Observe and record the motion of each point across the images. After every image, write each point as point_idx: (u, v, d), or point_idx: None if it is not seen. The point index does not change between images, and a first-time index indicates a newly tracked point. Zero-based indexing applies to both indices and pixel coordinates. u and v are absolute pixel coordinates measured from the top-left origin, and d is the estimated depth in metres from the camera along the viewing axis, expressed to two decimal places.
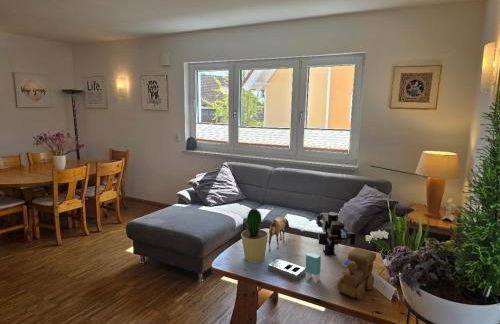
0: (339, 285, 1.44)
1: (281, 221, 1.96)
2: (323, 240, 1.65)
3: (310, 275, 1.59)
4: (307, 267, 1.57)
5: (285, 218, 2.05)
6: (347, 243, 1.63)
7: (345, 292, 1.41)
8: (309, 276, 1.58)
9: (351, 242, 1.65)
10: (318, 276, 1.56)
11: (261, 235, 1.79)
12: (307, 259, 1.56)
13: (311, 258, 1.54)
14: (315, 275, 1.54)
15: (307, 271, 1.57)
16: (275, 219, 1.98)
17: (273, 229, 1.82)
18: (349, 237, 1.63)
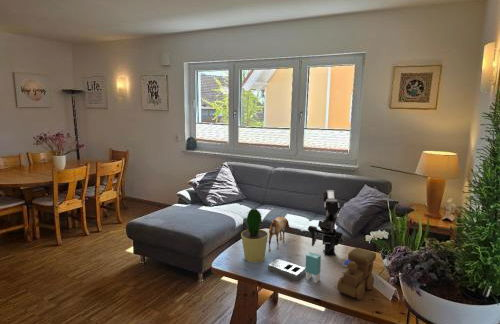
0: (339, 285, 1.44)
1: (281, 221, 1.96)
2: (312, 234, 1.70)
3: (310, 275, 1.59)
4: (307, 267, 1.57)
5: (285, 218, 2.05)
6: None
7: (345, 292, 1.41)
8: (309, 276, 1.58)
9: (338, 241, 1.61)
10: (318, 276, 1.56)
11: (261, 235, 1.79)
12: (307, 259, 1.56)
13: (311, 258, 1.54)
14: (315, 275, 1.54)
15: (307, 271, 1.57)
16: (275, 219, 1.98)
17: (273, 229, 1.82)
18: (333, 239, 1.60)
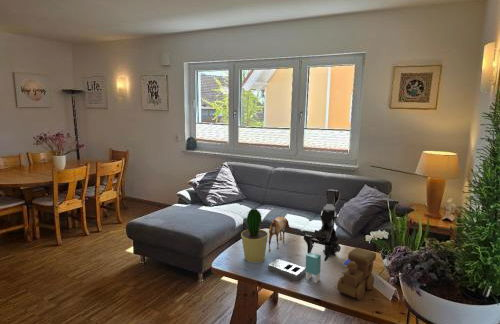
0: (339, 285, 1.44)
1: (281, 221, 1.96)
2: None
3: (310, 275, 1.59)
4: (307, 267, 1.57)
5: (285, 218, 2.05)
6: None
7: (345, 292, 1.41)
8: (309, 276, 1.58)
9: (334, 251, 1.58)
10: (318, 276, 1.56)
11: (261, 235, 1.79)
12: (307, 259, 1.56)
13: (311, 258, 1.54)
14: (315, 275, 1.54)
15: (307, 271, 1.57)
16: (275, 219, 1.98)
17: (273, 229, 1.82)
18: (329, 249, 1.56)
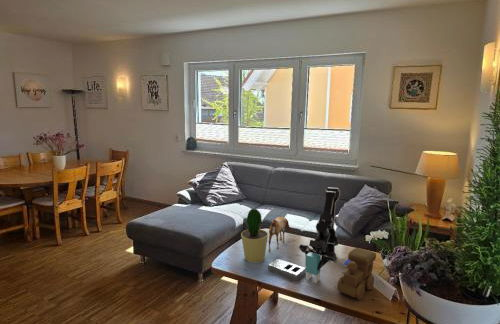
0: (339, 285, 1.44)
1: (281, 221, 1.96)
2: None
3: (310, 275, 1.59)
4: (307, 267, 1.57)
5: (285, 218, 2.05)
6: None
7: (345, 292, 1.41)
8: (309, 276, 1.58)
9: (328, 260, 1.56)
10: (318, 276, 1.56)
11: (261, 235, 1.79)
12: (307, 259, 1.56)
13: (311, 258, 1.54)
14: (315, 275, 1.54)
15: (307, 271, 1.57)
16: (275, 219, 1.98)
17: (273, 229, 1.82)
18: (322, 259, 1.54)
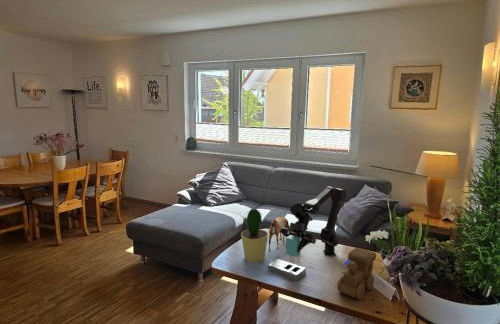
0: (339, 285, 1.44)
1: (281, 221, 1.96)
2: None
3: (291, 257, 1.63)
4: (287, 250, 1.61)
5: (285, 218, 2.05)
6: None
7: (345, 292, 1.41)
8: (289, 258, 1.63)
9: (307, 242, 1.60)
10: (298, 258, 1.61)
11: (261, 235, 1.79)
12: (287, 241, 1.60)
13: (291, 240, 1.59)
14: (295, 257, 1.59)
15: (287, 253, 1.61)
16: (275, 219, 1.98)
17: (273, 229, 1.82)
18: (302, 241, 1.59)
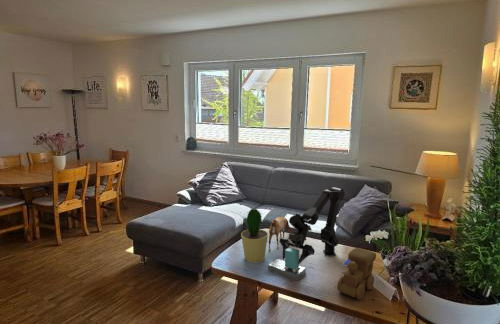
0: (339, 285, 1.44)
1: (281, 221, 1.96)
2: None
3: None
4: (286, 262, 1.62)
5: (285, 218, 2.05)
6: None
7: (345, 292, 1.41)
8: None
9: (308, 254, 1.61)
10: (297, 270, 1.62)
11: (261, 235, 1.79)
12: (286, 254, 1.62)
13: (290, 253, 1.60)
14: (293, 269, 1.60)
15: (286, 265, 1.63)
16: (275, 219, 1.98)
17: (273, 229, 1.82)
18: (303, 252, 1.59)
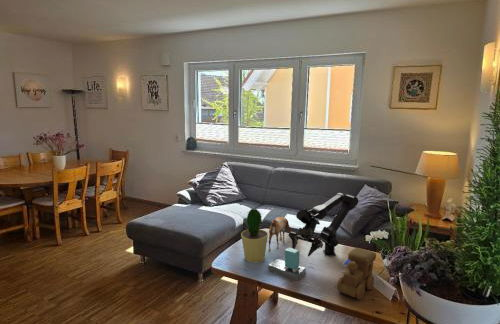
0: (339, 285, 1.44)
1: (281, 221, 1.96)
2: None
3: None
4: (286, 262, 1.63)
5: (285, 218, 2.05)
6: None
7: (345, 292, 1.41)
8: None
9: (317, 247, 1.68)
10: (297, 270, 1.62)
11: (261, 235, 1.79)
12: (286, 254, 1.62)
13: (290, 253, 1.60)
14: (293, 269, 1.60)
15: (286, 265, 1.63)
16: (275, 219, 1.98)
17: (273, 229, 1.82)
18: (313, 246, 1.66)
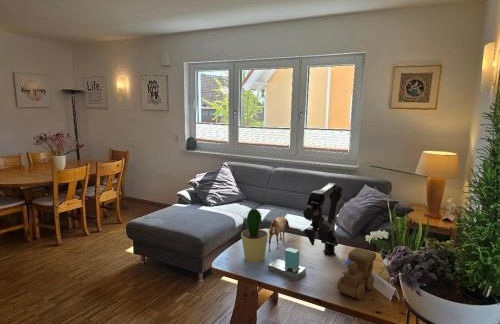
0: (339, 285, 1.44)
1: (281, 221, 1.96)
2: None
3: None
4: (286, 262, 1.63)
5: (285, 218, 2.05)
6: (318, 230, 1.75)
7: (345, 292, 1.41)
8: None
9: None
10: (297, 270, 1.62)
11: (261, 235, 1.79)
12: (286, 254, 1.62)
13: (290, 253, 1.60)
14: (293, 269, 1.60)
15: (286, 265, 1.63)
16: (275, 219, 1.98)
17: (273, 229, 1.82)
18: (324, 230, 1.73)
